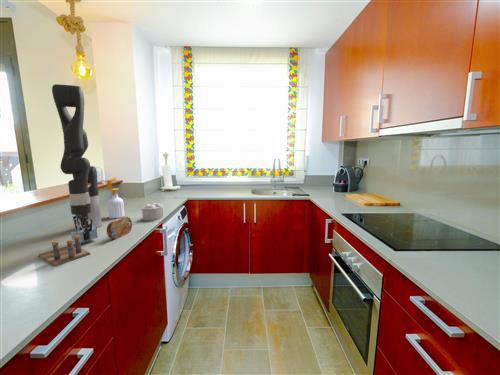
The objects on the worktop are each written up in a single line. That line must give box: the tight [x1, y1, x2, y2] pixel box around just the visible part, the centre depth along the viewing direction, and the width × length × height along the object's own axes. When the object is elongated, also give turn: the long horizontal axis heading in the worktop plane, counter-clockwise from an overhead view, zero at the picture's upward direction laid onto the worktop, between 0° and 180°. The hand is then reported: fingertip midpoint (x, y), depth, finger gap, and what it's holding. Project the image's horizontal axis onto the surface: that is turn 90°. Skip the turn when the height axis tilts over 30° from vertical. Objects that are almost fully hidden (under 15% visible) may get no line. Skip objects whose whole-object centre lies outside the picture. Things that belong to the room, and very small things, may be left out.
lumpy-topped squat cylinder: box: [141, 202, 165, 222], centre depth 155 cm, size 10×13×9 cm
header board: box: [38, 235, 91, 267], centre depth 101 cm, size 16×12×8 cm
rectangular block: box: [70, 227, 99, 244], centre depth 114 cm, size 4×9×4 cm, turn 146°
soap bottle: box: [106, 177, 126, 219], centre depth 157 cm, size 9×9×25 cm
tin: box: [106, 216, 133, 240], centre depth 123 cm, size 15×3×8 cm, turn 168°
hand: (84, 239), depth 115 cm, fingers closed on rectangular block, 4 cm apart
